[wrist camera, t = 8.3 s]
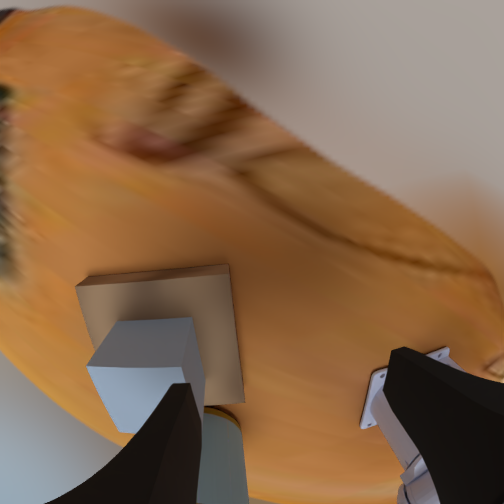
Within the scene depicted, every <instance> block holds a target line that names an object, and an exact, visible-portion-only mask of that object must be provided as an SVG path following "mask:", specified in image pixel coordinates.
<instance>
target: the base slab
mask: <svg viewBox="0 0 504 504" xmlns="http://www.w3.org/2000/svg"><path fill="white" fill-rule="evenodd" d="M75 289H76V293H77V296H78V300H79V303H80V307H81V310H82V314H83V317H84V320H85V323H86V326H87V329H88V332H89V335H90V338H91V341H92V344H93V346H94V349H95V352H96V350H97V349H98V347H99V346H100V345H101V343H102V342H103V340H104V339H105V337H106V336H107V334H108V333H109V332H110V330H111V329H112V327H113V326H114V325H115V323H116V322H117V321H135V320H154V319H170V318H185V317H192V319H193V324H194V329H195V334H196V339H197V344H198V349H199V354H200V358H201V363H202V367H203V372H204V376H205V380H206V381H205V396H204V406H207V405H223V404H235V403H245V396H244V387H243V379H242V372H241V364H240V357H239V349H238V341H237V333H236V325H235V316H234V308H233V299H232V290H231V281H230V272H229V264H221V265H211V266H200V267H190V268H179V269H169V270H158V271H147V272H136V273H125V274H114V275H103V276H91V277H87V278H86V279H84V280H83V281H82V282H80V283H79V284H78V285H76V286H75Z"/></svg>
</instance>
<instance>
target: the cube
mask: <svg viewBox="0 0 504 504" xmlns="http://www.w3.org/2000/svg"><path fill="white" fill-rule="evenodd" d="M86 367H87V369H88V372H89V374H90V376H91V378H92V381H93V383H94V385H95V387H96V389H97V391H98V393H99V395H100V397H101V399H102V401H103V403H104V405H105V407H106V409H107V411H108V413H109V414H110V416H111V418H112V420H113V422H114V423H115V425H116V427H117V429H118V430H119V432H126V433H137V432H138V431H139V429H140V428H141V427H142V426H143V424H144V423H145V422H146V420H147V419H148V418H149V416H150V415H151V414H152V412H153V411H154V409H155V408H156V406H157V405H158V404H159V402H160V401H161V399H162V398H163V396H164V395H165V393H166V392H167V390H168V389H169V387H170V386H171V385H172V384H173V383H190V384H191V387H192V391H193V395H194V398H195V402H196V405H197V408H198V412H199V415H200V418H201V421H202V429H203V412H204V396H205V381H206V380H205V376H204V372H203V367H202V363H201V358H200V354H199V349H198V344H197V339H196V334H195V329H194V324H193V319H192V317H185V318H170V319H154V320H135V321H117V322H116V323H115V325H114V326H113V327H112V329H111V330H110V332H109V333H108V334H107V336H106V337H105V339H104V340H103V342H102V343H101V345H100V346H99V347H98V349H97V350H96V352H95V353H94V355H93V356H92V358H91V359H90V361H89V362H88V364H87V365H86Z"/></svg>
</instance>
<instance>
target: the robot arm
mask: <svg viewBox="0 0 504 504" xmlns="http://www.w3.org/2000/svg"><path fill="white" fill-rule="evenodd" d="M449 351H450V349H449V348H448V347H445V348H442V349H440V350H437V351H435V352H432V353H429V354H427V355H424V354H422V353H420V352H417V351H415V350H413V349H410V348H407V347H405V346H404V347H401V348H398V349H394V350H391V355H390V360H389V365H388V368H385V369H382V370H378V371H375V372H374V373H373V374H372V376H371V381H370V385H369V390H368V394H367V399H366V403H365V407H364V411H363V415H362V419H361V422H360V428H361V429H365V428H368V427H371V426H374V425H377V424H378V426H379V428H380V429H381V431H382V433H383V434H384V436H385V438H386V439H387V441H388V443H389V445H390V446H391V448H392V450H393V451H394V453H395V455H396V456H397V458H398V460H399V462H400V463H401V465H402V467H403V468H404V470H405V472H404V473H403V474H401V475H400V477H401V479H402V481H403V482H404V483H403V484H402V485H401V486H400V487H399V490H398V495H397V504H504V383H500V382H495V381H491V380H487V379H484V378H480V377H477V376H474V375H471V374H469V373H467V372H465V371H464V370H463V369H462V368H461V367H460V366H459V365H458V364H456V363H455V362H454V361H453V360H452V359H451V358H450V357H449V356H448V355H449ZM201 450H202V421H201V418H200V415H199V412H198V408H197V405H196V402H195V398H194V395H193V391H192V387H191V384H190V383H173V384H172V385H171V386H170V387H169V389H168V390H167V392H166V393H165V395H164V396H163V398H162V399H161V401H160V402H159V404H158V405H157V406H156V408H155V409H154V411H153V412H152V414H151V415H150V416H149V418H148V419H147V420H146V422H145V423H144V424H143V426H142V427H141V428H140V429H139V431H138V432H137V433H136V434H135V435H134V436H133V438H132V439H131V440H130V441H129V442H128V443H127V445H126V446H125V447H124V448H123V449H122V450H121V451H120V452H119V453H118V454H117V455H116V456H115V457H114V458H113V459H112V460H111V461H110V462H109V463H108V464H106V466H104V467H103V468H102V469H101V470H99V471H98V472H97V473H96V474H94V475H93V476H92V477H90V478H89V479H88V480H86V481H85V482H83V483H82V484H80V485H79V486H77V487H76V488H74V489H72V490H71V491H69V492H67V493H65V494H64V495H62V496H60V497H58V498H56V499H54V500H52V501H50V502H47V503H45V504H196V502H197V488H198V479H199V469H200V460H201Z"/></svg>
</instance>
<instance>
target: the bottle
mask: <svg viewBox="0 0 504 504" xmlns="http://www.w3.org/2000/svg"><path fill="white" fill-rule="evenodd" d="M196 504H249V497H248V488H247V479H246V469H245V460H244V450H243V439H242V433H241V427H240V425H239V424H238V423H237V422H236V420H235V419H233V418H232V417H230V416H229V415H227V414H226V413H224V412H222V411H219V410H217V409H214V408H210V407H204V412H203V429H202V450H201V460H200V469H199V479H198V488H197V502H196Z"/></svg>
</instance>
